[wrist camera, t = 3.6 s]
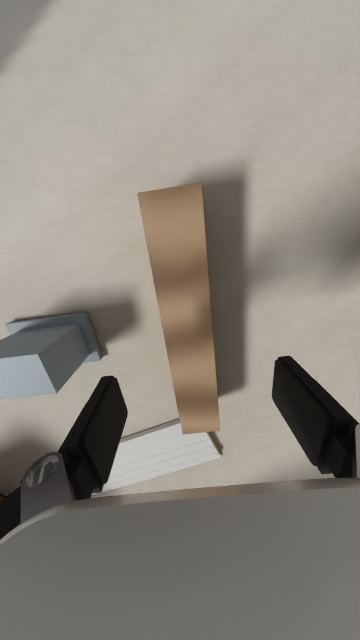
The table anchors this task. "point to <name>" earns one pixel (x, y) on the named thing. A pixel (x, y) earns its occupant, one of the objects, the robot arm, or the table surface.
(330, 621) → the robot arm
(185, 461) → the baseboard molding
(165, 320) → the walnut rod
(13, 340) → the slate ridge
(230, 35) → the table surface
